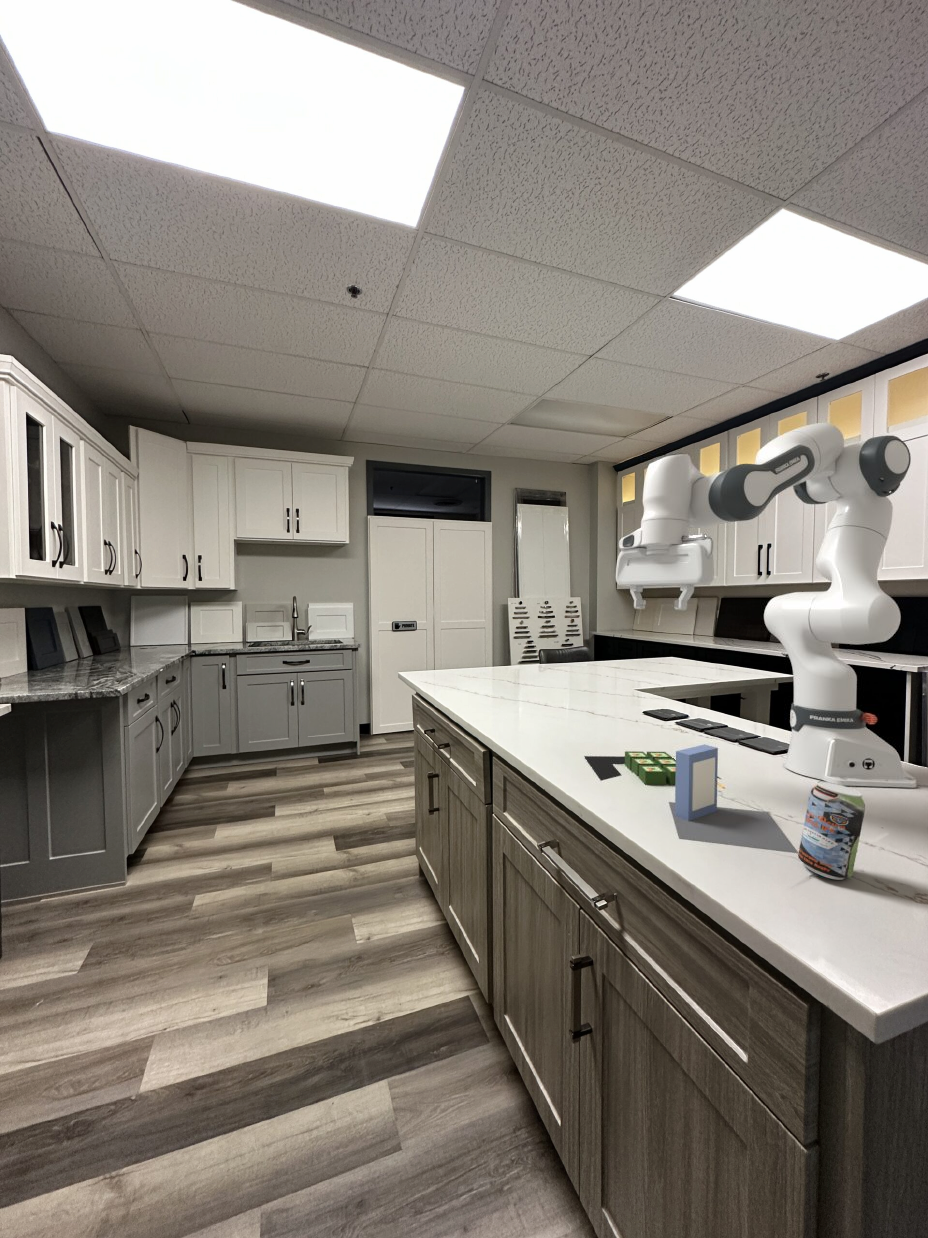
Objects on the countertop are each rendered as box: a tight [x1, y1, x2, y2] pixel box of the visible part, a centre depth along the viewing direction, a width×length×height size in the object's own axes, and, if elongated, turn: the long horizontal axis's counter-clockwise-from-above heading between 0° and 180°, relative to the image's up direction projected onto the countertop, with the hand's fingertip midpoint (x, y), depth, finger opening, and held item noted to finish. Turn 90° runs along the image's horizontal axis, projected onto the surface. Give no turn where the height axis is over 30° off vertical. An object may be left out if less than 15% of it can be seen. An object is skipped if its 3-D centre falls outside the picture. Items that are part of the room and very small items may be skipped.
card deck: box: [674, 744, 719, 821], centre depth 87 cm, size 3×8×11 cm, turn 122°
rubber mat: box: [668, 801, 799, 854], centre depth 83 cm, size 16×15×1 cm
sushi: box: [583, 750, 726, 789], centre depth 108 cm, size 25×25×4 cm
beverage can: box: [797, 780, 866, 881], centre depth 68 cm, size 6×7×12 cm
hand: (659, 609), depth 99 cm, fingers open, 8 cm apart
